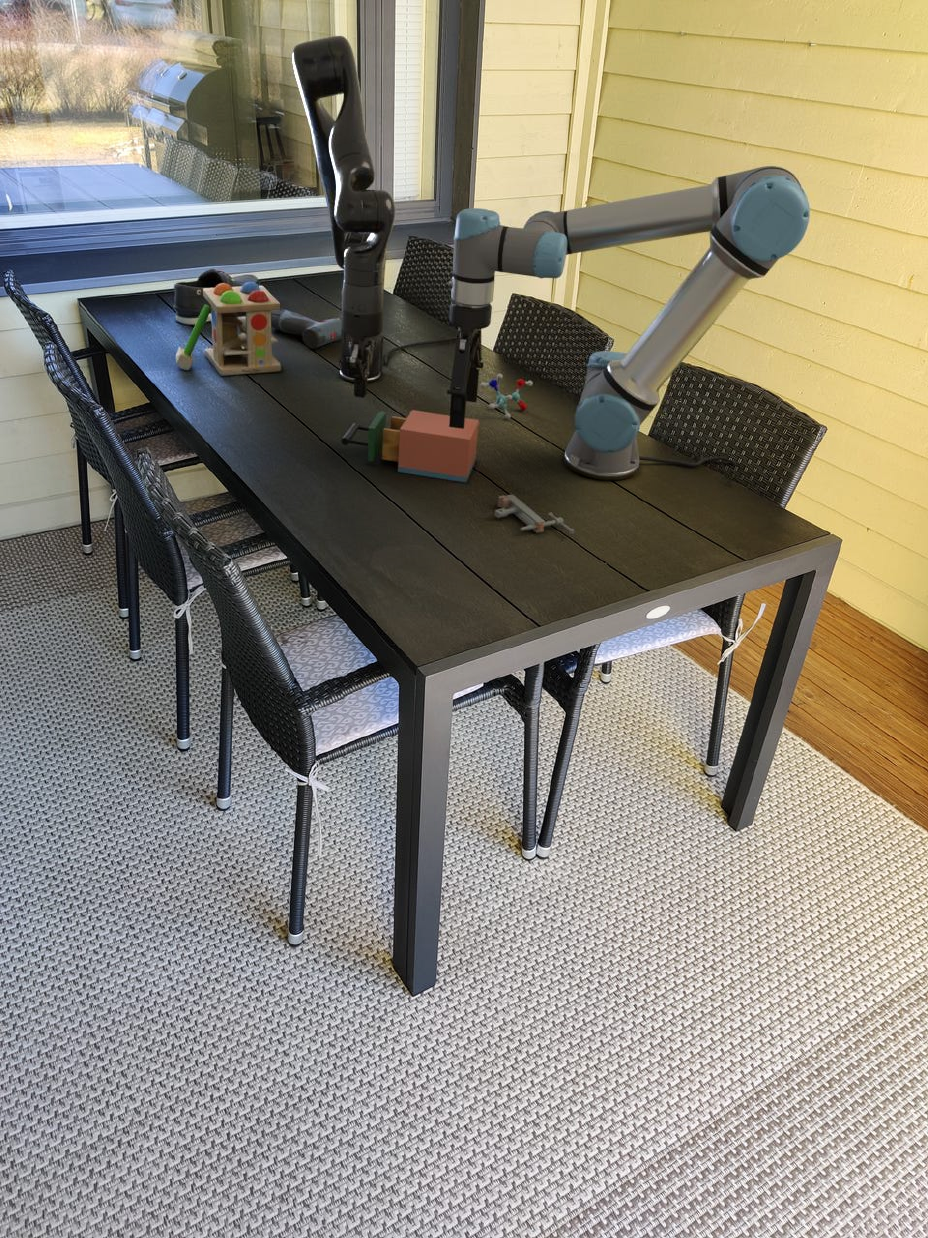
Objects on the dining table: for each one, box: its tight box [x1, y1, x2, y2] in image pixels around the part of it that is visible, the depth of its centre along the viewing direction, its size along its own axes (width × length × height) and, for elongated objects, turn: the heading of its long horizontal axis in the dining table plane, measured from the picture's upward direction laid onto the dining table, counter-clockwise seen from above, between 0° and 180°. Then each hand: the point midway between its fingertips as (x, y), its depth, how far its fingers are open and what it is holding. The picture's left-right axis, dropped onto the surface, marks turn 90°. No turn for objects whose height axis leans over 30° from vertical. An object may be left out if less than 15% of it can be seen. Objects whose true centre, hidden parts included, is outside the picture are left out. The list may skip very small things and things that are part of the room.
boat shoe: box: [173, 268, 262, 325], centre depth 261 cm, size 13×33×10 cm, turn 147°
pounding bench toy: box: [174, 282, 282, 377], centre depth 225 cm, size 23×14×18 cm, turn 116°
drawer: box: [340, 410, 407, 462], centre depth 193 cm, size 18×9×7 cm, turn 79°
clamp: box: [494, 494, 575, 535], centre depth 178 cm, size 15×2×10 cm
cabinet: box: [397, 409, 480, 483], centre depth 192 cm, size 14×10×9 cm
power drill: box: [271, 308, 341, 349], centre depth 252 cm, size 5×19×20 cm
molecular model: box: [480, 373, 533, 420], centre depth 219 cm, size 12×10×10 cm
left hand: (360, 395), depth 190 cm, fingers closed
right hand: (463, 413), depth 188 cm, fingers open, 13 cm apart
